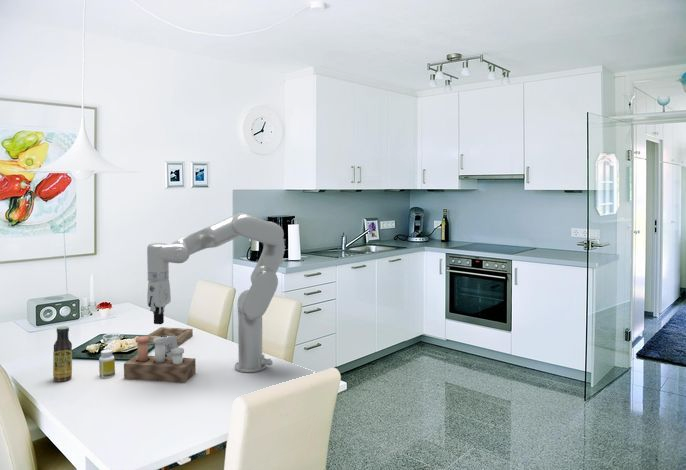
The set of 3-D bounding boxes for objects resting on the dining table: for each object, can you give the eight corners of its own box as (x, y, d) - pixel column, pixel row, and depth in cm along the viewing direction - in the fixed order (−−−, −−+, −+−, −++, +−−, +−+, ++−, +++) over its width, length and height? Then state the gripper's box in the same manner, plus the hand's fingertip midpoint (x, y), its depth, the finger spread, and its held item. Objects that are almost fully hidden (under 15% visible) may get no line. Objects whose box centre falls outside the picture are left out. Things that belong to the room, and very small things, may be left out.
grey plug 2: (186, 373, 202) (186, 348, 201) (181, 378, 197) (180, 352, 196) (174, 372, 203) (174, 347, 202) (169, 377, 198) (168, 351, 197)
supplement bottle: (118, 374, 202) (117, 349, 201) (107, 379, 197) (106, 354, 196) (107, 372, 204) (106, 348, 203) (96, 377, 199) (95, 352, 198)
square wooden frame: (192, 336, 252) (192, 328, 252) (178, 346, 237) (178, 338, 236) (161, 334, 254) (161, 327, 254) (144, 344, 239) (144, 336, 238)
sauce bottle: (53, 383, 192) (50, 330, 190) (53, 377, 198) (51, 326, 196) (73, 380, 195) (71, 328, 193) (73, 375, 201) (71, 324, 199)
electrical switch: (160, 362, 215) (158, 340, 215) (153, 361, 219) (151, 339, 218) (179, 357, 223) (178, 335, 222) (172, 355, 226) (171, 334, 226)
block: (195, 373, 204) (195, 358, 204) (184, 383, 195) (184, 367, 194) (137, 369, 207) (137, 354, 207) (124, 379, 198) (123, 363, 197)
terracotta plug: (152, 361, 203) (151, 336, 202) (145, 366, 199) (145, 340, 198) (140, 361, 204) (139, 335, 203) (133, 365, 199) (133, 339, 198)
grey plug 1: (169, 363, 203) (168, 337, 202) (163, 367, 198) (162, 341, 197) (157, 362, 203) (156, 336, 202) (151, 366, 198) (150, 340, 197)
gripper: (158, 280, 189) (158, 329, 191) (176, 273, 204) (176, 319, 206) (138, 279, 190) (139, 328, 192) (158, 272, 205) (158, 318, 207)
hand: (158, 323), depth 199 cm, fingers closed
